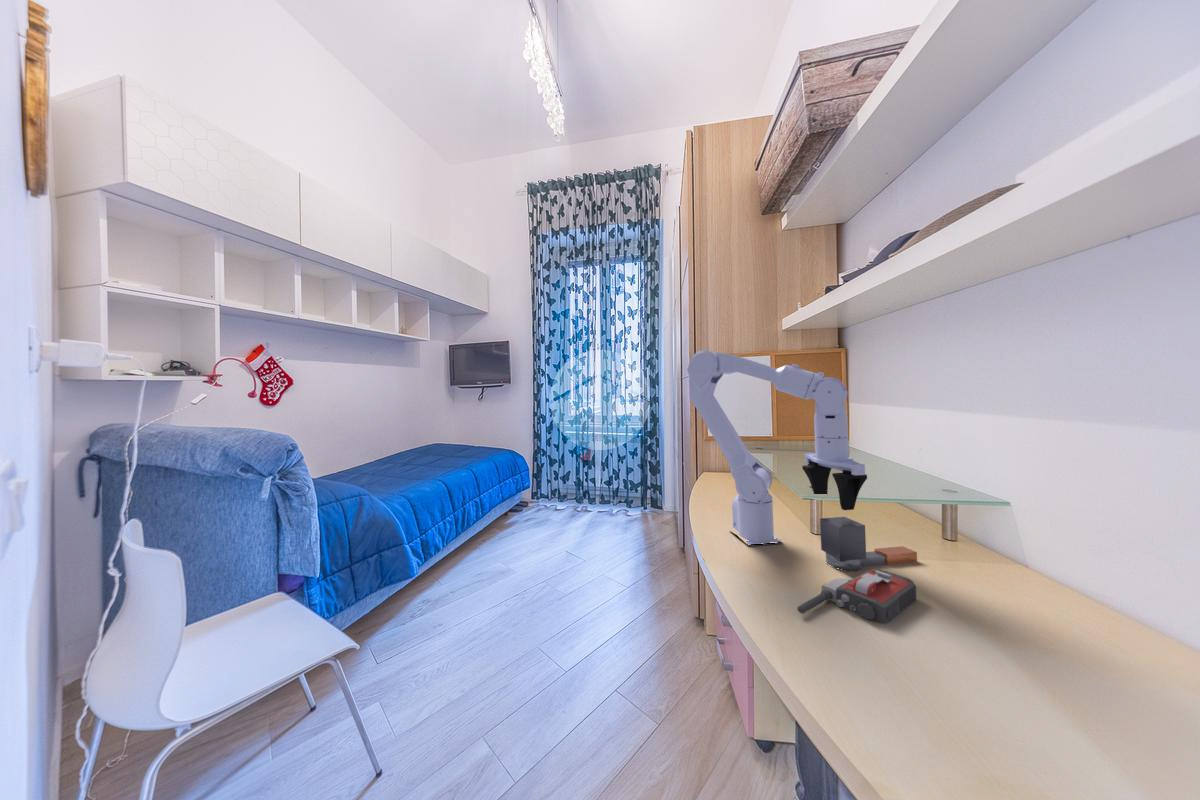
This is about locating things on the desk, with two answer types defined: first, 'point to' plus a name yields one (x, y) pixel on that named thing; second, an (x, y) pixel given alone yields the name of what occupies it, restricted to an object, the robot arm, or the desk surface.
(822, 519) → the dark grey block
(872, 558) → the ratchet
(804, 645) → the desk surface
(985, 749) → the desk surface
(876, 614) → the walkie-talkie
